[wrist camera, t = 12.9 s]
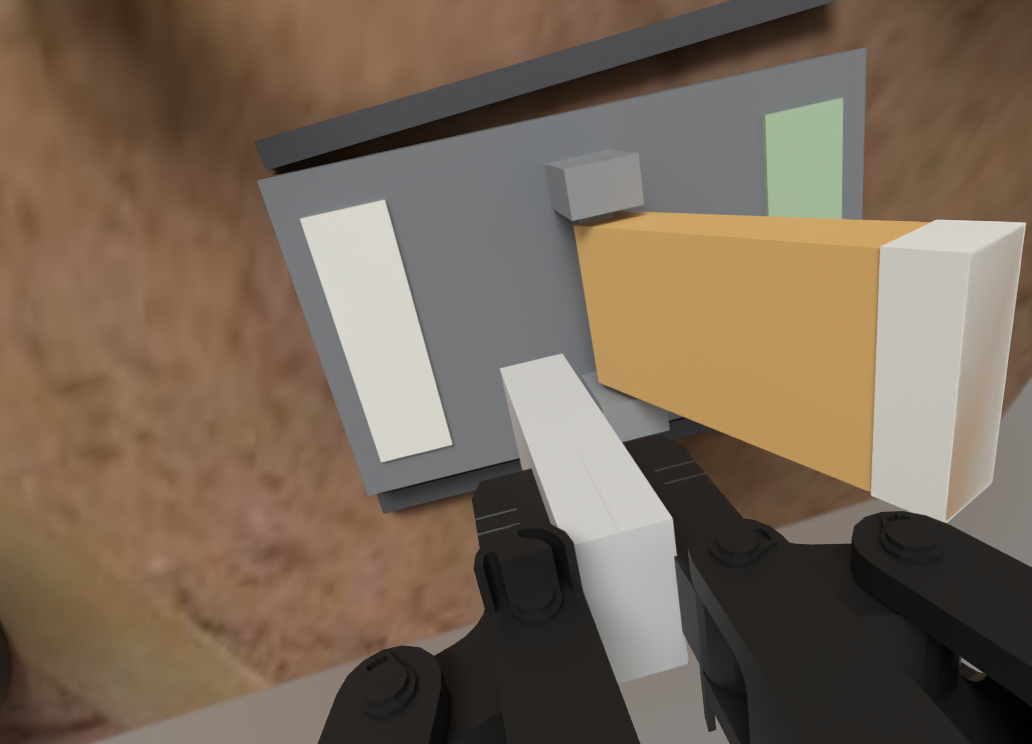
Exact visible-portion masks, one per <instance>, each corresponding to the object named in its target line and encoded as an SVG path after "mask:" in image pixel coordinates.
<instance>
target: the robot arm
mask: <svg viewBox="0 0 1032 744" xmlns="http://www.w3.org/2000/svg"><path fill="white" fill-rule="evenodd" d="M500 372H501V376H502V381H503V385H504V390H505V394H506V399H507V403H508V408H509V412H510V417H511V421H512V426H513V431H514V435H515V440H516V444H517V449H518V453H519V458H520V462H521V467H522V470H523V471H519V472H515V473H511V474H507V475H503V476H499V477H495V478H491V479H487V480H483V481H480V483H479V485H478V487H477V490H476V492H475V494H474V496H473V498H472V503H473V509H474V515H475V520H476V528H477V533H478V540H479V546H480V549H479V551H478V552H477V554H476V556H475V563H474V572H475V575H476V579H477V582H478V586H479V590H480V593H481V597H482V600H483V604H484V607H485V610H484V614H483V616H482V617H481V619H480V620H479V622H478V623H477V625H476V626H475V627H474V628H473V629H472V630H471V631H470V632H469V633H468V634H467V636H465V637H464V638H463V639H461V640H460V641H458V642H457V643H455V644H454V645H452V646H450V647H449V648H447V649H445V650H444V651H442V652H440V653H438V654H437V655H435V656H433V655H432V654H430V653H429V652H427V651H425V650H423V649H422V648H420V647H412V646H398V647H393V648H389V649H385V650H382V651H380V652H378V653H376V654H374V655H373V656H371V657H369V658H367V659H365V660H364V661H363V662H361V663H360V664H359V665H358V666H357V667H356V668H355V669H354V670H353V671H352V672H351V673H350V674H349V675H348V676H347V678H346V679H345V681H344V683H343V684H342V686H341V688H340V689H339V691H338V693H337V695H336V698H335V700H334V703H333V705H332V708H331V710H330V713H329V716H328V718H327V721H326V724H325V726H324V729H323V731H322V734H321V736H320V739H319V741H318V744H640V742H639V739H638V737H637V734H636V731H635V729H634V726H633V723H632V721H631V718H630V715H629V713H628V710H627V707H626V705H625V702H624V699H623V697H622V694H621V691H620V688H619V686H618V684H620V683H623V682H627V681H630V680H634V679H638V678H641V677H645V676H648V675H652V674H655V673H659V672H662V671H666V670H669V669H673V668H676V667H679V666H683V665H687V664H689V661H688V652H687V643H686V639H687V641H688V643H689V645H690V647H691V648H692V650H693V652H694V654H695V656H696V658H697V660H698V662H699V664H700V674H701V683H702V694H703V703H704V714H705V720H706V723H707V727H708V731H709V732H711V731H714V730H716V725H715V716H716V718H717V720H718V722H719V724H720V726H721V727H722V729H723V731H724V733H725V735H726V737H727V739H728V741H729V743H730V744H1032V567H1030V566H1028V565H1026V564H1024V563H1022V562H1020V561H1018V560H1017V559H1015V558H1013V557H1011V556H1009V555H1007V554H1005V553H1003V552H1001V551H999V550H997V549H995V548H993V547H991V546H990V545H988V544H986V543H984V542H982V541H980V540H978V539H976V538H974V537H972V536H970V535H968V534H966V533H964V532H962V531H961V530H959V529H957V528H955V527H953V526H951V525H949V524H947V523H945V522H942V521H939V520H937V519H934V518H932V517H929V516H926V515H922V514H916V513H910V512H905V511H898V512H897V511H894V512H880V513H877V514H874V515H870V516H867V517H865V518H863V519H862V520H861V521H860V522H859V523H857V524H856V525H855V526H854V530H853V535H852V544H816V545H809V544H793V543H789V542H788V541H787V540H786V539H785V538H784V537H783V536H782V535H781V534H780V533H778V532H777V531H776V530H774V529H773V528H772V527H770V526H768V525H766V524H763V523H760V522H758V521H755V520H751V519H743V518H742V516H741V515H740V514H739V513H738V512H737V511H736V509H735V508H734V507H733V506H732V505H731V504H730V502H729V501H728V500H727V499H726V498H725V496H724V495H723V494H722V493H721V492H720V491H719V489H718V488H717V487H716V486H715V485H714V484H713V482H712V481H711V480H710V479H709V478H708V476H707V475H704V473H703V471H702V469H701V468H700V467H699V466H698V465H697V464H696V462H693V459H692V458H691V456H690V455H689V454H688V453H687V452H686V451H685V449H684V448H683V447H682V446H681V445H680V444H679V443H677V442H675V441H672V440H670V439H668V438H666V437H664V436H662V435H660V434H657V435H653V436H649V437H645V438H641V439H637V440H633V441H629V442H625V443H622V442H621V440H620V439H619V437H618V436H617V434H616V433H615V431H614V430H613V429H612V427H611V426H610V424H609V423H608V421H607V420H606V418H605V417H604V415H603V414H602V412H601V411H600V409H599V408H598V406H597V405H596V403H595V402H594V400H593V399H592V397H591V396H590V394H589V393H588V391H587V390H586V388H585V387H584V385H583V384H582V382H581V381H580V379H579V378H578V376H577V375H576V373H575V372H574V370H573V369H572V367H571V366H570V364H569V363H568V361H567V360H566V358H565V357H564V355H563V354H558V355H554V356H549V357H545V358H541V359H537V360H533V361H529V362H525V363H520V364H516V365H512V366H508V367H504V368H500ZM961 658H963V659H965V660H966V661H967V662H969V663H970V664H972V665H973V666H975V667H976V668H978V669H979V670H980V671H982V672H983V673H980V672H977V671H975V670H974V669H972V668H970V667H968V666H967V665H965V664H964V663H962V662H961ZM9 680H10V661H9V655H8V650H7V647H6V644H5V640H4V638H3V636H2V633H1V631H0V708H1V706H2V704H3V702H4V699H5V697H6V694H7V690H8V686H9Z"/></svg>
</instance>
